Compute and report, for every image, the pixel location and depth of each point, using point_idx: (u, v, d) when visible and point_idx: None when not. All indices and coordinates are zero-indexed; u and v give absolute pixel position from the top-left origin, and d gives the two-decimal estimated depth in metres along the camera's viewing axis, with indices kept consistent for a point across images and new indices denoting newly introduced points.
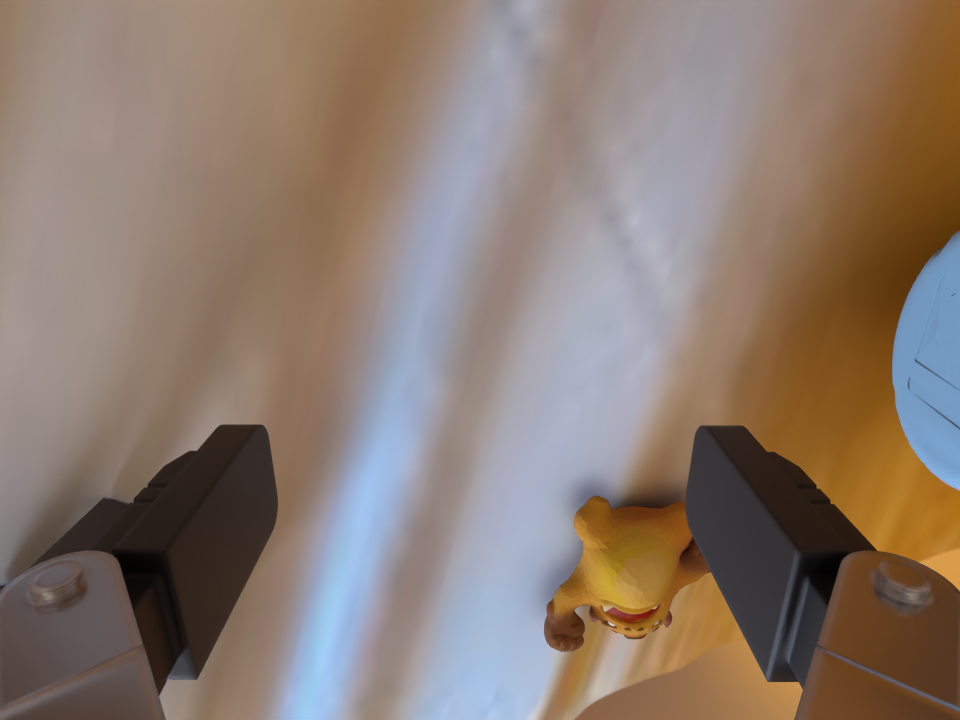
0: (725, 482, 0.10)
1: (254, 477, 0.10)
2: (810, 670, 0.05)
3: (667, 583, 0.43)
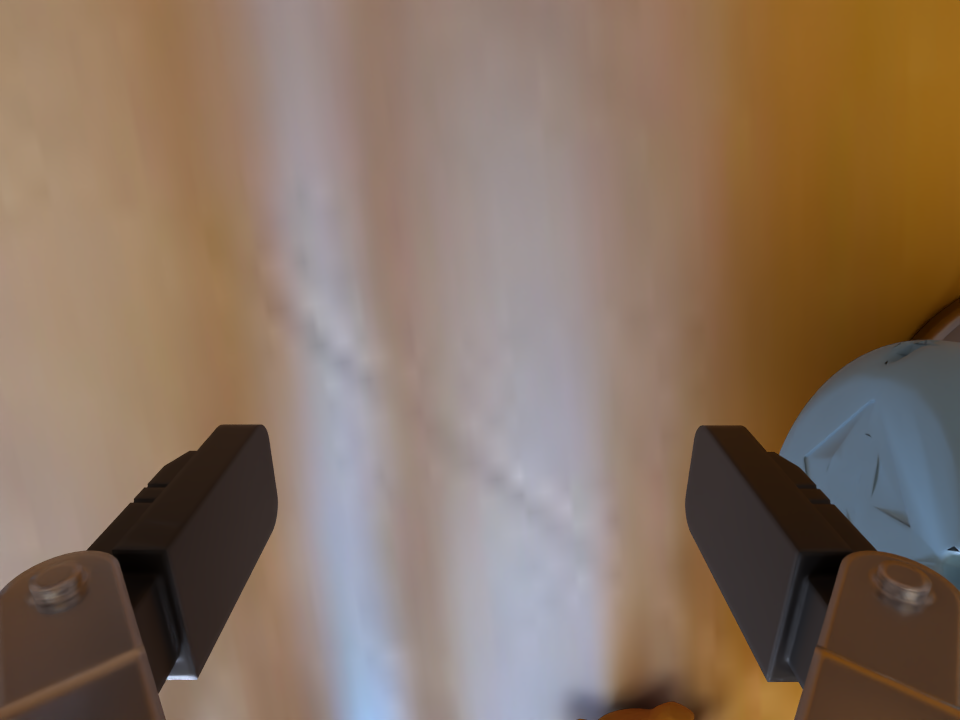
0: (725, 482, 0.10)
1: (254, 476, 0.10)
2: (810, 670, 0.05)
3: None
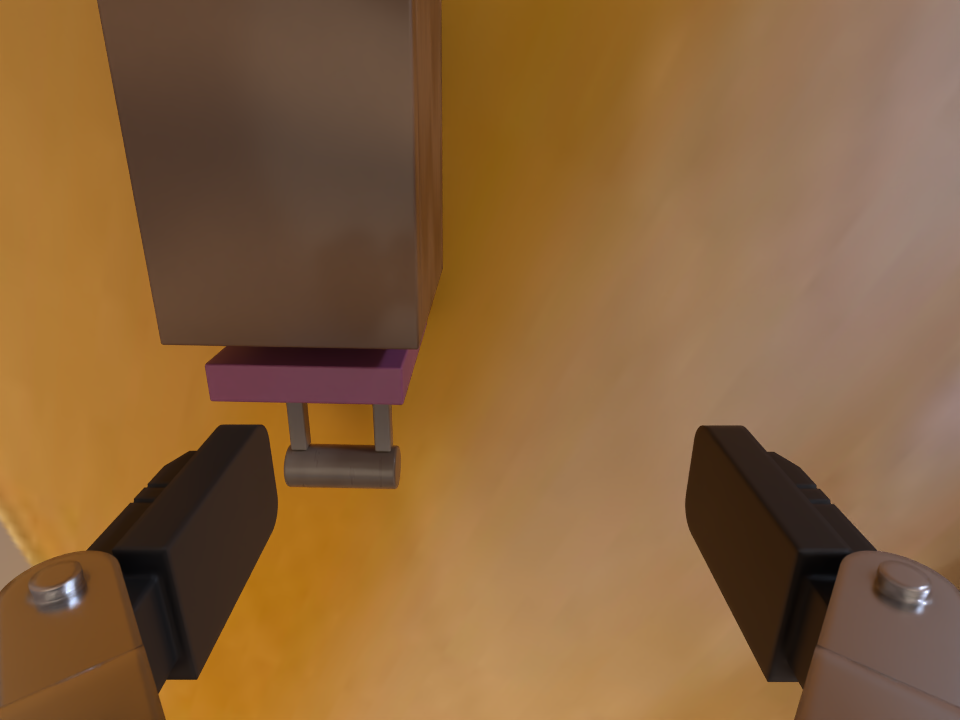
0: (725, 482, 0.10)
1: (254, 476, 0.10)
2: (810, 670, 0.05)
3: None
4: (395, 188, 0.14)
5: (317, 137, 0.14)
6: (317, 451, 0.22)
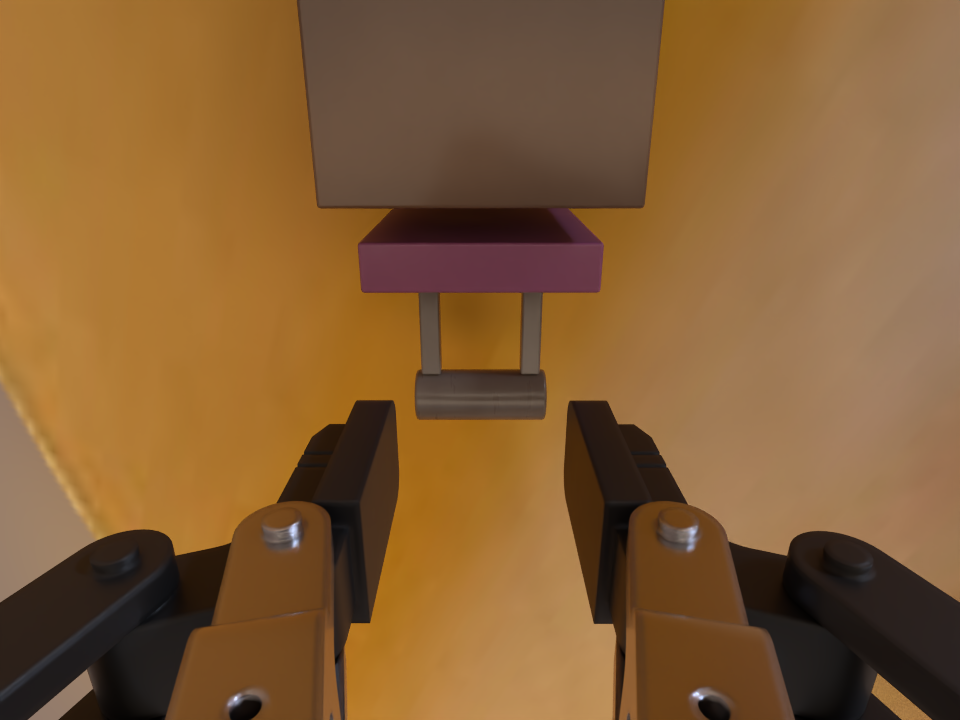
0: (578, 450, 0.11)
1: (390, 447, 0.11)
2: (637, 635, 0.05)
3: None
4: None
5: None
6: (452, 376, 0.19)
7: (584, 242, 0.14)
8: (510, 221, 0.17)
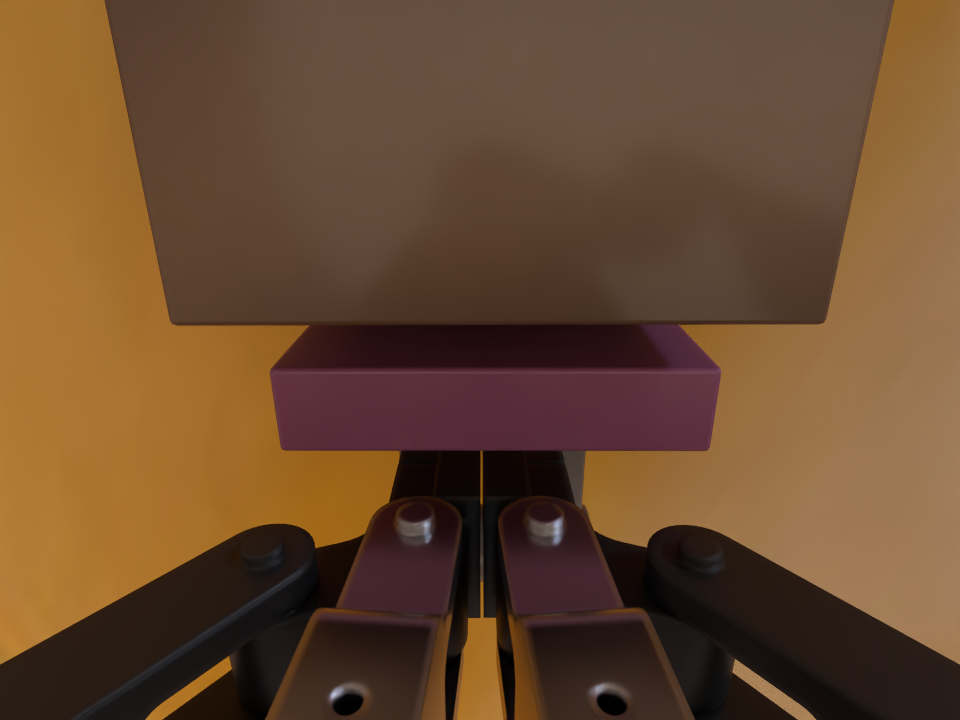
0: None
1: None
2: (528, 644, 0.05)
3: None
4: None
5: None
6: None
7: (686, 367, 0.07)
8: None
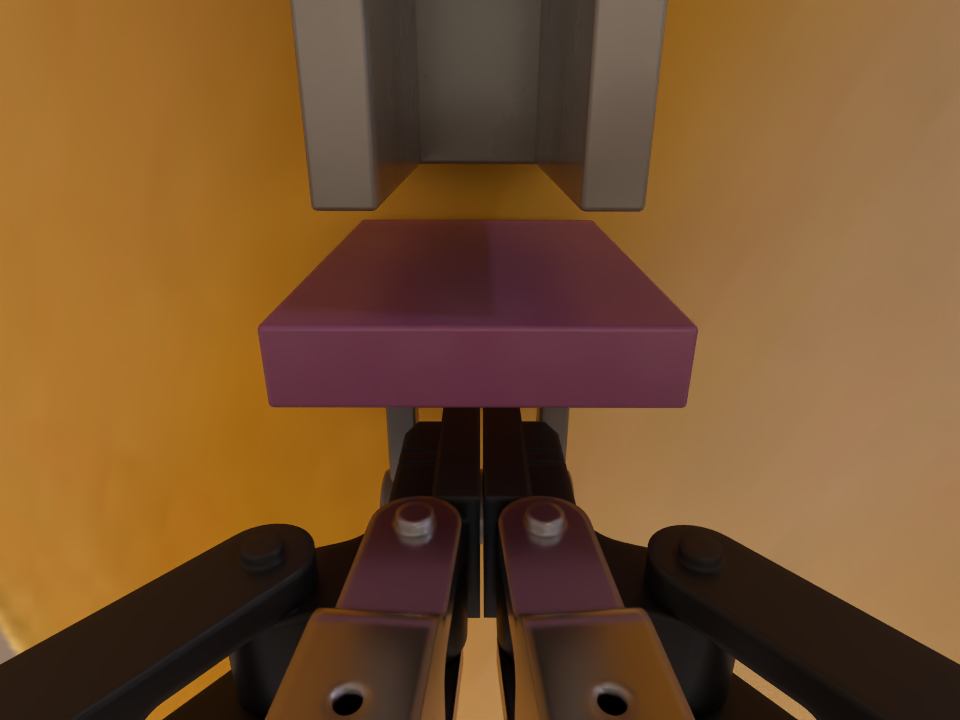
0: (483, 446, 0.11)
1: None
2: (528, 644, 0.05)
3: None
4: None
5: None
6: None
7: (664, 325, 0.08)
8: (525, 265, 0.11)
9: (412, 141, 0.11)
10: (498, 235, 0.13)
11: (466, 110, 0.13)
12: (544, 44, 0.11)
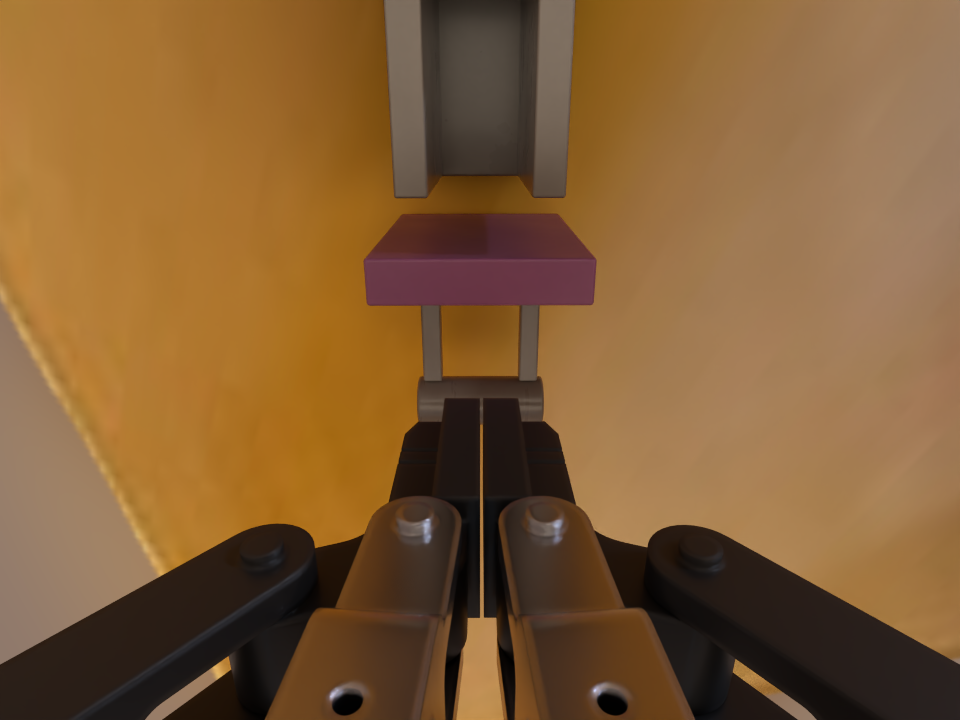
0: (483, 447, 0.11)
1: None
2: (528, 644, 0.05)
3: None
4: None
5: None
6: (453, 382, 0.20)
7: (578, 258, 0.15)
8: (508, 235, 0.17)
9: (439, 161, 0.18)
10: (493, 222, 0.20)
11: (472, 141, 0.20)
12: (520, 102, 0.18)
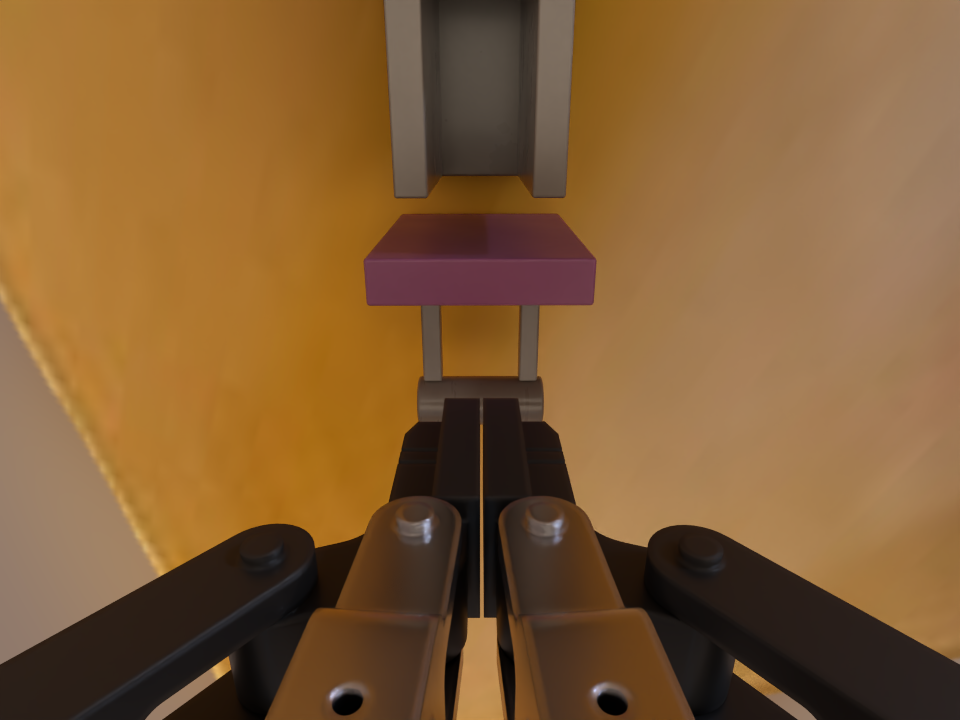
0: (483, 447, 0.11)
1: None
2: (528, 644, 0.05)
3: None
4: None
5: None
6: (453, 382, 0.20)
7: (578, 258, 0.15)
8: (508, 235, 0.17)
9: (439, 161, 0.18)
10: (493, 222, 0.20)
11: (472, 141, 0.20)
12: (520, 102, 0.18)
